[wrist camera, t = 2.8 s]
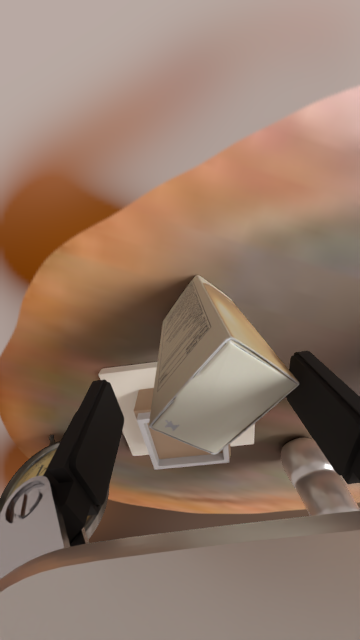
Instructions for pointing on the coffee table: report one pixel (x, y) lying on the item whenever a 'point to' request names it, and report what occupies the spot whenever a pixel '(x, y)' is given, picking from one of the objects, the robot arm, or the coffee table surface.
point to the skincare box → (213, 371)
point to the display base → (135, 404)
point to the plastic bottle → (315, 478)
